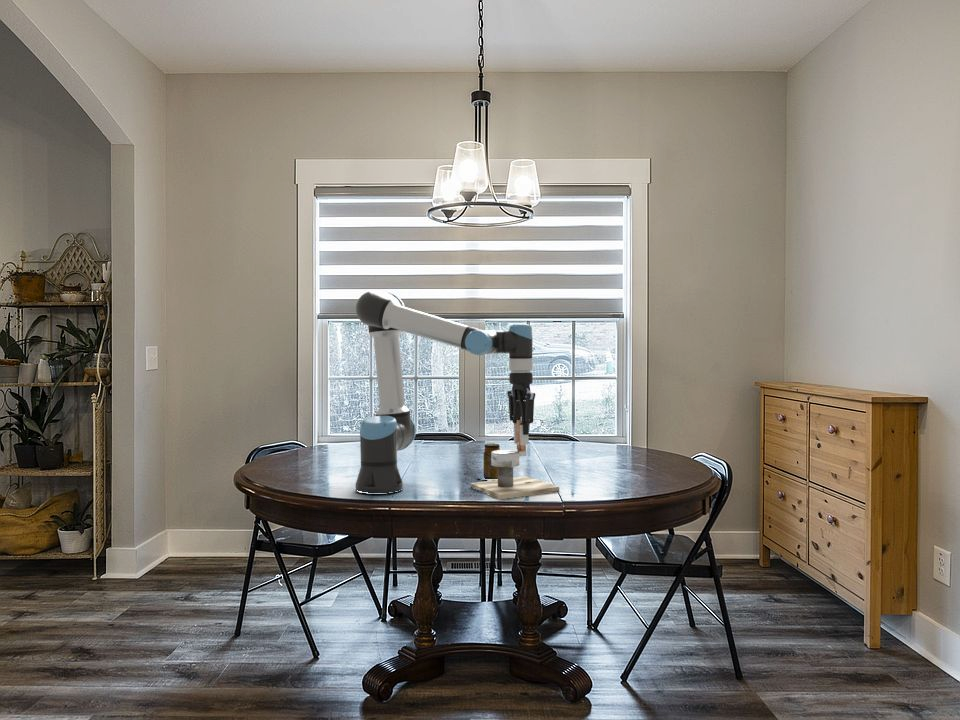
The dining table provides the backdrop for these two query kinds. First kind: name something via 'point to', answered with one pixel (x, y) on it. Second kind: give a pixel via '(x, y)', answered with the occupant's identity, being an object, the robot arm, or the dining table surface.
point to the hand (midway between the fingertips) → (521, 443)
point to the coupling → (509, 453)
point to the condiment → (490, 470)
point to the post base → (513, 485)
